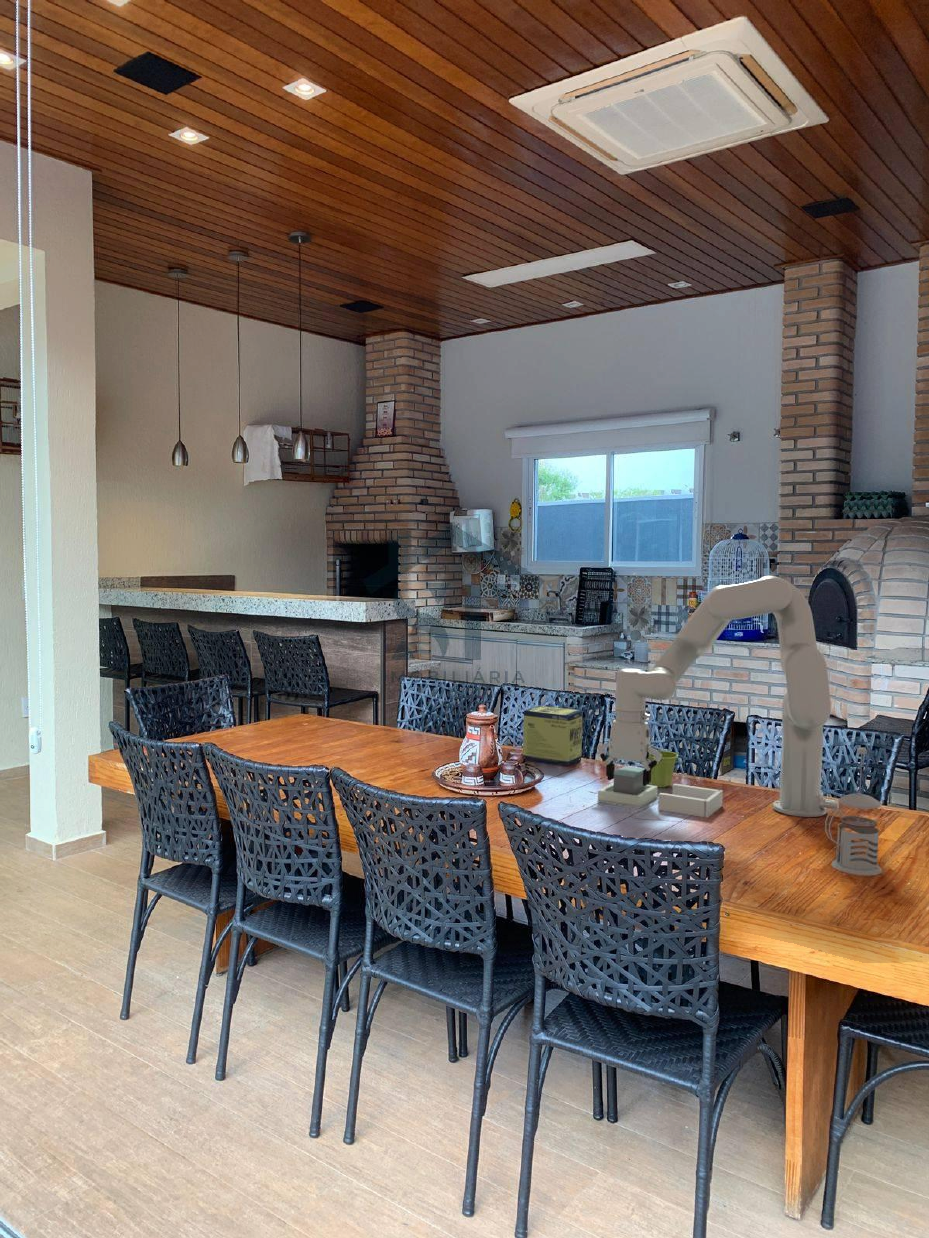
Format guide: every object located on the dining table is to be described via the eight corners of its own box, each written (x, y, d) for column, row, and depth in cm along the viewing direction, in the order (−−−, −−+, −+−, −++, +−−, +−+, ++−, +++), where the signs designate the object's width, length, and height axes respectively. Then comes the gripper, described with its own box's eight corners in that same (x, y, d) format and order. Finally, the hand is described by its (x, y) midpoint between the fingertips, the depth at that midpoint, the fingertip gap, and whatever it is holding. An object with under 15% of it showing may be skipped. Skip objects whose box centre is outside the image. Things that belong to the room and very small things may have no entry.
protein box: (568, 766, 278) (569, 715, 277) (521, 760, 286) (522, 709, 284) (582, 760, 287) (583, 710, 286) (536, 753, 295) (537, 705, 293)
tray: (657, 796, 245) (657, 786, 245) (639, 808, 234) (639, 797, 234) (616, 790, 251) (617, 780, 251) (597, 801, 240) (598, 790, 239)
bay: (722, 805, 237) (722, 790, 237) (707, 817, 226) (708, 801, 226) (674, 798, 243) (674, 783, 243) (658, 809, 233) (658, 793, 232)
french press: (892, 875, 188) (898, 752, 186) (836, 875, 187) (842, 752, 185) (867, 858, 197) (872, 742, 196) (814, 859, 197) (819, 742, 195)
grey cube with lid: (644, 795, 244) (645, 768, 244) (633, 801, 237) (634, 774, 237) (624, 791, 247) (625, 765, 246) (613, 798, 240) (613, 771, 240)
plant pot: (677, 790, 252) (678, 758, 251) (642, 788, 254) (643, 756, 253) (676, 781, 261) (677, 751, 261) (642, 779, 263) (643, 749, 262)
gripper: (667, 718, 239) (665, 783, 241) (604, 711, 248) (602, 774, 250) (657, 722, 233) (655, 789, 234) (593, 715, 242) (591, 780, 243)
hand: (628, 781), depth 242 cm, fingers open, 9 cm apart
